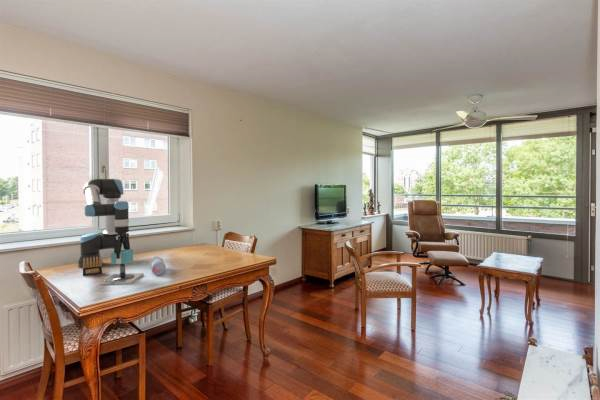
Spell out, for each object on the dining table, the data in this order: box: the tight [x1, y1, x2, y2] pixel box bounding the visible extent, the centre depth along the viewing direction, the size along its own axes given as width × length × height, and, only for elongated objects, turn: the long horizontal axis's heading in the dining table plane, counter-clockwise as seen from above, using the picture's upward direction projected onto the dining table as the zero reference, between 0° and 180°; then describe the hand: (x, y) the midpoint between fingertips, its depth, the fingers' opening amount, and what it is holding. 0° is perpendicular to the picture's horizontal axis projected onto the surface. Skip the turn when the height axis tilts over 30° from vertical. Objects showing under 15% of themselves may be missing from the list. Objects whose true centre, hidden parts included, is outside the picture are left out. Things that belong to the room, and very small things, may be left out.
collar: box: [110, 248, 134, 265], centre depth 193 cm, size 9×9×7 cm
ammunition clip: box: [82, 255, 103, 277], centre depth 204 cm, size 11×2×12 cm, turn 123°
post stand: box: [99, 264, 144, 286], centre depth 193 cm, size 18×18×10 cm
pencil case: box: [149, 256, 167, 276], centre depth 211 cm, size 21×9×10 cm, turn 28°
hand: (122, 261), depth 193 cm, fingers closed on collar, 9 cm apart
